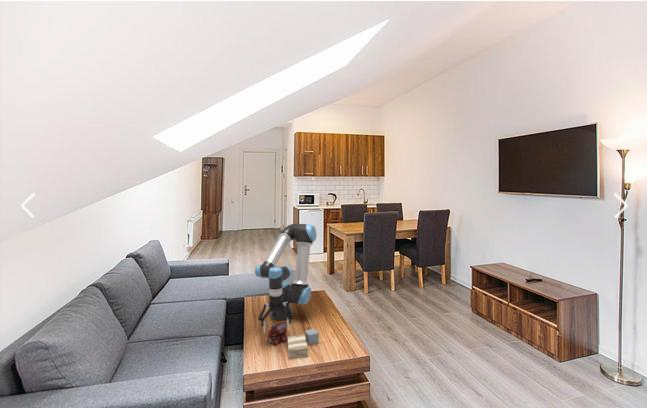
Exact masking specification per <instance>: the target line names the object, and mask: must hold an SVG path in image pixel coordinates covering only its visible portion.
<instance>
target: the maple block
mask: <svg viewBox="0 0 647 408" xmlns="http://www.w3.org/2000/svg"><path fill="white" fill-rule="evenodd" d="M286 336H287V340H286V342H287V352H288V359H296V358H297V359H298V358H299V359H300V358H308V357H309V354H308V353H309V351H308V350H309V348H308V343H307V342H306V338H305V333H304V334H292V335H286Z"/></svg>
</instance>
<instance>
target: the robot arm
mask: <svg viewBox="0 0 647 408" xmlns="http://www.w3.org/2000/svg"><path fill="white" fill-rule="evenodd" d="M292 241H295V242H296V245H297V251H296V261H295V270H294V278H293V279H294V280H293V281H292V282H291V284H290V282H289V281H286V280H287V279H289V278H290V277H291V276H292V275H293V270H292V269H293V268H291V267H290V266H289V265H283V266H276V265H277V263H278V261H280V258H281V256H282V255H283V253H284V251H285V249H286V248H287V245H289V244H290V243H291V242H292ZM315 241H317V230H316V226H315V225H313V224H310V223H309V224H308V223H291V224H289V225H287V226H286V227H284V228H282V230H281V231H280V232H279V234H278V236H277V240H276V241H275V243H274V245H273V246H272V248H271V250H270V252H269V253H268V255H267V256H266V258H265V259H264V261H263V263H262V264H258V265H256V266H255V269H254V273H255V274H254V275H255V276H256V277H257V278H264V279H268V295H269V297H268V303H266V302H265V303H263V307H262V310H261V311H260V313H259V315H258V319H257V320H258V321H260V322H261V327H262V328H263V333H264V334H265V333H266V319H267V317H268V316H270V319H272V320H275V321H285V320H286V322H287V327H286V331H288V332H289V331H290V325H291V324H292V323H291V322H292V319H293V318H294V317H295V316H294V313H293V309H292V306H291V304H295V305H296V304H297V305H307V304H308V302H309V301H310V299H311V295H312V288H311V287H310V286H309V282H308V275H309V273H308V272H309V264H310V263H309V262H310V253H311V246H312V245H314V242H315ZM267 308H268V309H267ZM266 309H267V311H266ZM265 311H266V312H265Z"/></svg>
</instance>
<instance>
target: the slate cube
mask: <svg viewBox="0 0 647 408" xmlns="http://www.w3.org/2000/svg"><path fill="white" fill-rule="evenodd" d="M304 334H305V338H306V343H307V346H312V345H315V344H319V343H320V338H319V332H318V331H317V329H316V328H310V329H306V330H304Z"/></svg>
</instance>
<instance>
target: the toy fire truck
mask: <svg viewBox="0 0 647 408" xmlns="http://www.w3.org/2000/svg"><path fill="white" fill-rule="evenodd" d="M287 336H288V335H287V321H283V322H279V323H277V324H275V325H272V326H271V328H270V329H269V331H268V334H267V337H266V338H267V343H269V344H271V343H272V344H273V345H274V346H276V345H278V344H280V341H281V343H285V342H287Z"/></svg>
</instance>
